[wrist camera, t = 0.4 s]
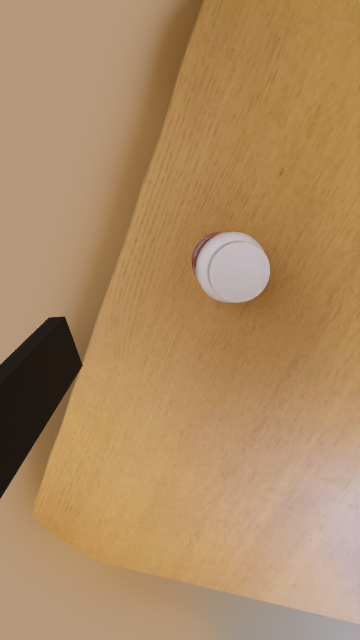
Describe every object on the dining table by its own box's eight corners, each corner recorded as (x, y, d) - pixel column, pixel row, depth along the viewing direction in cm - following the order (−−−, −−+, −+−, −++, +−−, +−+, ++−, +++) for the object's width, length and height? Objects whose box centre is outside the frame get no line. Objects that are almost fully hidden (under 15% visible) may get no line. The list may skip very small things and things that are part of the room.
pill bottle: (231, 221, 30) (262, 213, 20) (253, 271, 32) (293, 288, 21) (181, 249, 31) (185, 255, 20) (205, 296, 33) (221, 325, 22)
